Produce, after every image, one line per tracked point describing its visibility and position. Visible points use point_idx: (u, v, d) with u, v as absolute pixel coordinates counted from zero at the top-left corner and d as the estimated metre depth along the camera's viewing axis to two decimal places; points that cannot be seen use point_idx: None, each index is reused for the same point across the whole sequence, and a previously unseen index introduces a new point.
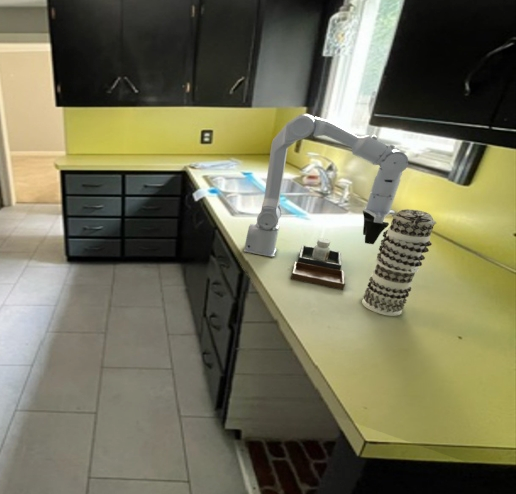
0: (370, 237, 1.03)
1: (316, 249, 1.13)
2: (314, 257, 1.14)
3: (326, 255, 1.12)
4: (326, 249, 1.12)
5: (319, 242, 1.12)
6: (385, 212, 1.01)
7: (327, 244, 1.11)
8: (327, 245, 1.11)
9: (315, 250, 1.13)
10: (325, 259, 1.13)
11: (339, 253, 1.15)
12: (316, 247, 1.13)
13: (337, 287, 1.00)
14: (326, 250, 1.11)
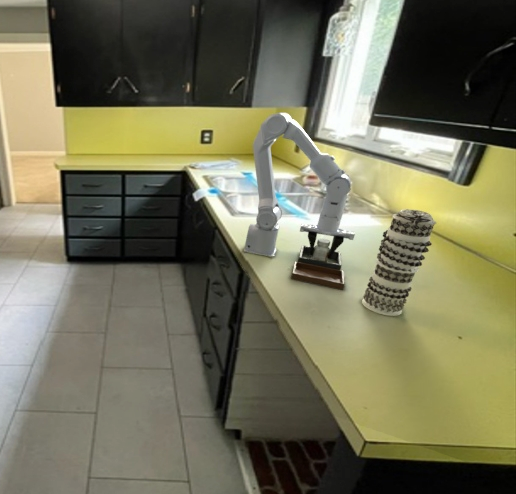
0: None
1: (316, 249, 1.13)
2: (314, 257, 1.14)
3: (326, 255, 1.12)
4: (326, 249, 1.12)
5: (319, 242, 1.12)
6: (317, 229, 1.10)
7: (327, 244, 1.11)
8: (327, 245, 1.11)
9: (315, 250, 1.13)
10: (325, 259, 1.13)
11: (339, 253, 1.15)
12: (316, 247, 1.13)
13: (337, 287, 1.00)
14: (326, 250, 1.11)
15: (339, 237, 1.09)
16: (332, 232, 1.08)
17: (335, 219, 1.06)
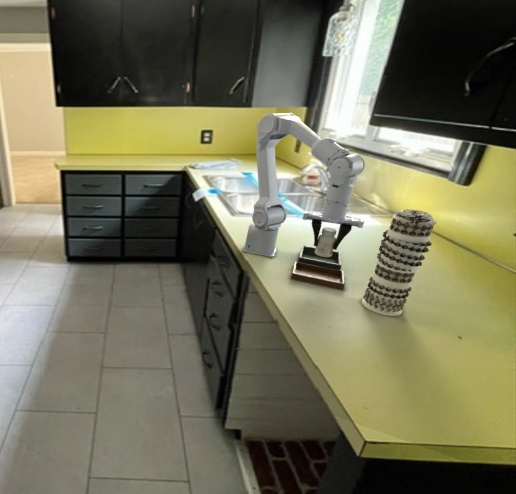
0: None
1: (321, 239, 1.02)
2: (319, 248, 1.03)
3: (332, 245, 1.01)
4: (332, 239, 1.01)
5: (324, 231, 1.01)
6: (322, 216, 1.00)
7: (333, 233, 1.00)
8: (333, 234, 1.00)
9: (320, 240, 1.02)
10: (331, 250, 1.02)
11: (339, 253, 1.15)
12: (321, 237, 1.02)
13: (337, 287, 1.00)
14: (332, 240, 1.01)
15: (346, 225, 0.98)
16: (339, 219, 0.97)
17: (342, 205, 0.96)
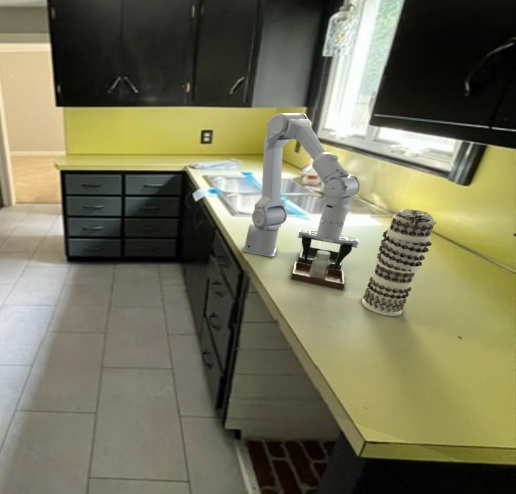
0: None
1: (315, 262, 1.03)
2: (313, 270, 1.05)
3: (326, 268, 1.03)
4: (326, 262, 1.02)
5: (318, 254, 1.03)
6: (317, 235, 1.01)
7: (327, 256, 1.02)
8: (326, 257, 1.02)
9: (314, 263, 1.04)
10: (325, 273, 1.03)
11: None
12: (315, 259, 1.04)
13: (337, 287, 1.00)
14: (326, 263, 1.02)
15: (347, 245, 0.99)
16: (334, 239, 0.98)
17: (337, 225, 0.96)
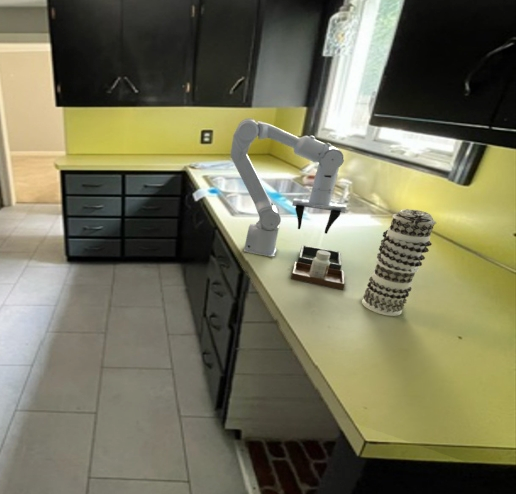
0: None
1: (315, 262, 1.03)
2: (313, 270, 1.05)
3: (326, 268, 1.03)
4: (326, 262, 1.02)
5: (318, 254, 1.03)
6: (309, 202, 1.12)
7: (327, 256, 1.02)
8: (326, 257, 1.02)
9: (314, 263, 1.04)
10: (325, 273, 1.03)
11: (339, 253, 1.15)
12: (315, 259, 1.04)
13: (337, 287, 1.00)
14: (326, 263, 1.02)
15: (336, 211, 1.10)
16: (324, 205, 1.09)
17: (327, 192, 1.08)
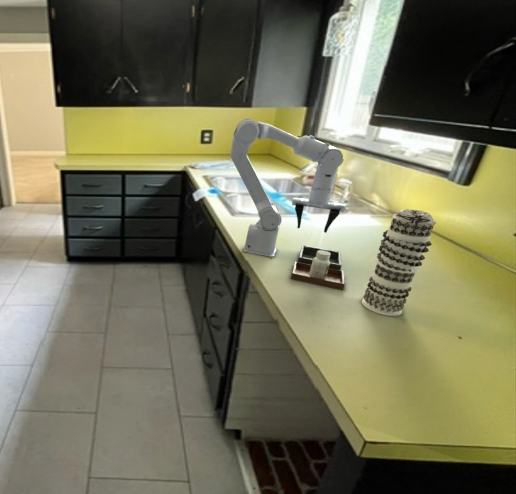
0: None
1: (315, 262, 1.03)
2: (313, 270, 1.05)
3: (326, 268, 1.03)
4: (326, 262, 1.02)
5: (318, 254, 1.03)
6: (309, 201, 1.12)
7: (327, 256, 1.02)
8: (326, 257, 1.02)
9: (314, 263, 1.04)
10: (325, 273, 1.03)
11: (339, 253, 1.15)
12: (315, 259, 1.04)
13: (337, 287, 1.00)
14: (326, 263, 1.02)
15: (335, 210, 1.11)
16: (323, 204, 1.10)
17: (326, 191, 1.08)
